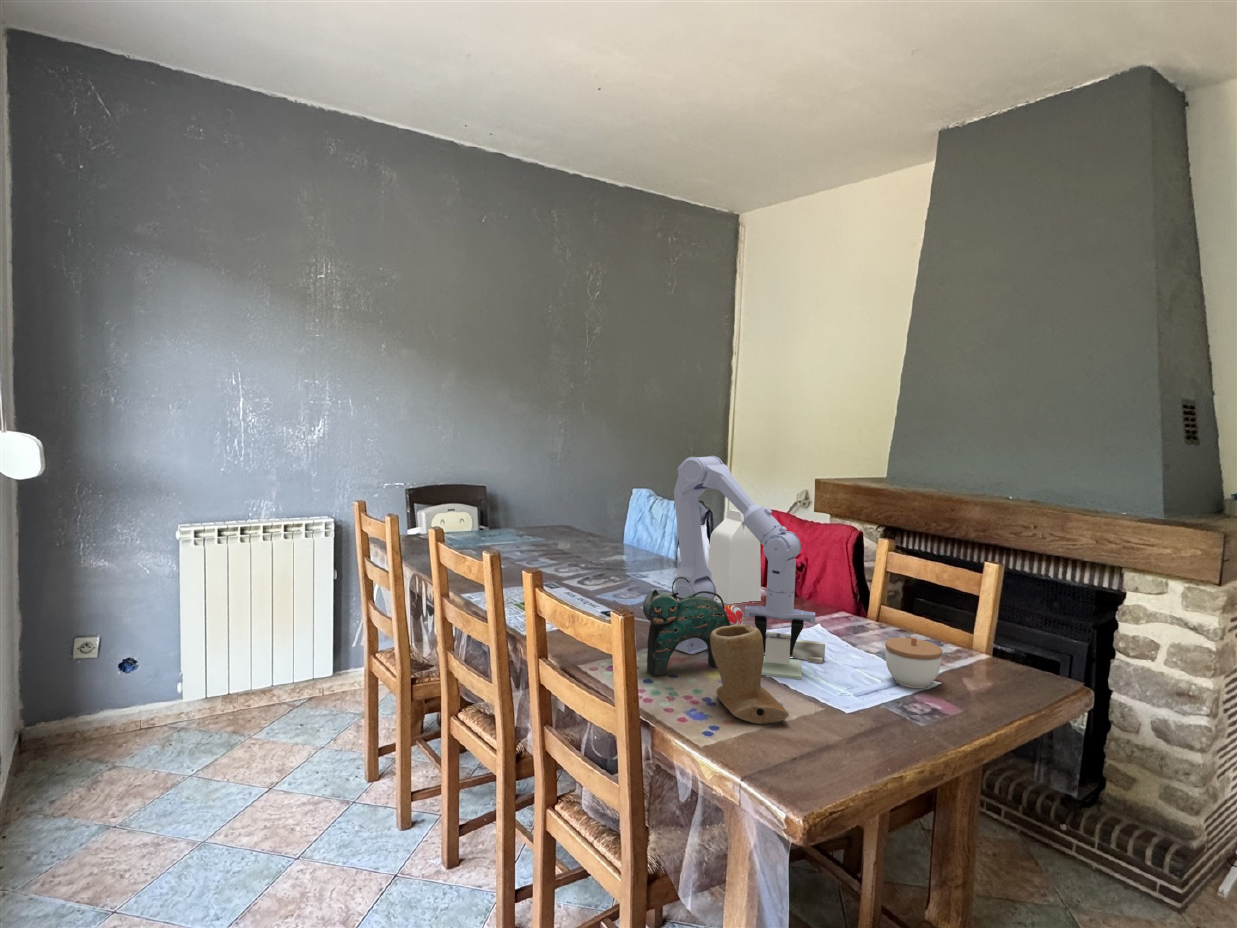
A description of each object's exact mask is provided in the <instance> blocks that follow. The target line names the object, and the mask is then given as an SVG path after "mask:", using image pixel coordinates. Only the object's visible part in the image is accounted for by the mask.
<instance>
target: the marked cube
mask: <svg viewBox="0 0 1237 928" xmlns="http://www.w3.org/2000/svg"><path fill="white" fill-rule="evenodd" d="M790 638H791V633H784V632H783V633H782V632H777V631H776V632H774V631H766V648H765V662H771V663H780V664H789V659H790Z"/></svg>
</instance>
